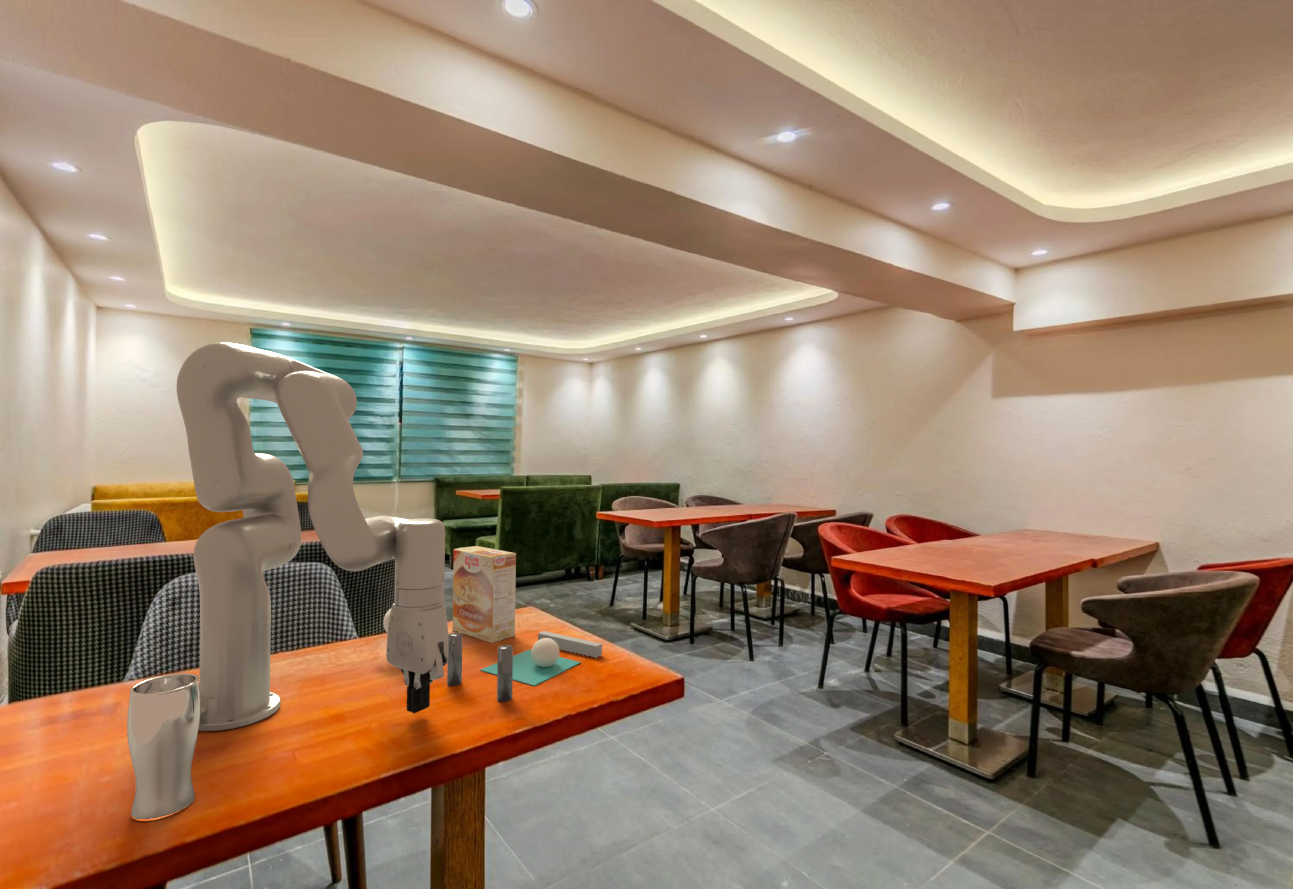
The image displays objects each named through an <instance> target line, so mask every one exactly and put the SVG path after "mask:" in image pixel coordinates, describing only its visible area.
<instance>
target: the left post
mask: <svg viewBox="0 0 1293 889" xmlns="http://www.w3.org/2000/svg"><path fill="white" fill-rule="evenodd" d="M448 638H449V653H448V662H447V664H446V666H447V667H446V668H447V671H446V672H447V674H446V685H447V686H450V687H455V686H459V685H461V684H462V683H463V634H462V633H459V632H450V633H448Z"/></svg>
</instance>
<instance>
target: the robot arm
mask: <svg viewBox="0 0 1293 889" xmlns="http://www.w3.org/2000/svg"><path fill="white" fill-rule="evenodd" d="M176 395H177V400H178V406H179V409H180V412H181V415H182V416H181V417H182V419H183V420H182V421H183V422H184V424H183V425H184V427H185V432H186V437H187V438H186V439H187V447H188V448H187V449H188V454H189V461H190V468H191V474H192V479H193V484H194V485H193V486H194V491H195V494H196V499H197V500H198V503H199V504H200V505H201V506H202V508H203V507H204V509H207V510H209V511H211V512H216V513H226V512H227V513H228V512H229V513H231V512H238V511H242V515H243V517H242V518H236V519H235V518H234V519H231V520H226V521H223V522H219V523H217V524H215V525H213V526H210V527H209V528H207V529H206V530H205V531H204V532H203V533H202V534H201V535H200V536H199V537H198V539H197V541H196V542H195V545H194V548H193V557H192V558H193V565H194V570H195V575H196V578H197V582H198V583H197V584H198V590H199V591H198V592H199V607H200V608H199V612H200V613H199V616H200V617H199V622H200V623H199V624H200V626H199V633H200V634H199V690H200V707H201V712H200V724H199V731H202V732H210V731H211V732H215V731H216V732H217V731H226V730H232V729H237V728H241V727H245V726H248V725H252V724H255V723H257V722H260V721H262V720H265V719H266V718H268V717H271V716H272V715H273V714H275V713H276V712H277V711H278V710H279V708H280V707H281V704H282V703H281V701H282V700H281V697H280V695H279V694H277V693H274V692H271V645H272V644H271V638H272V637H271V635H272V634H271V633H272V631H271V630H272V613H271V612H272V610H271V609H272V604H271V603H272V602H271V593H270V590H269V587H268V584H267V582H266V580H265V577H264V572H265V571H269V570H272V569H275V568H278V567H281V566H283V565H286V564H287V563H289V562H290V561H292V560H293V559H294V558H295V557H296V555H298V552H299V550H300V547H301V544H302V529H301V527H302V525H301V520H300V514H299V508H298V503H297V495H296V489H295V488H296V487H295V483H294V480H293V479H294V478H293V476H292V473H291V471H290V470H289V467H288V466H287V464H285V463H284V462H283V461H282V460H281V459H280V458H278V457H276V456H275V455H272V454H268V453H258V452H256V453H255V451H254V447H253V446H254V445H253V442H252V435H251V434H252V433H251V428H250V425H249V422H248V420H247V417H246V416H245V414H244V412H243V411H242V409H241V407H240V405H239V404H238V399H240V398H245V399H252V400H254V399H255V400H261V401H269V402H272V403H274V404H277V407H278V409H279V411H280V413H281V415H282V417H283V420H284V422H285V424H286V426H287V428H288V430H289V432H290V435H291V437H292V439H293V441H294V443H295V446H296V448H297V449H298V451H299V454H300V456H301V458H302V460H303V463H304V464H305V466H306V469H307V472H308V480H307V481H308V482H307V503H308V504H307V505H308V506H307V507H308V512H309V516H310V518H309V519H310V522H311V524H312V527H313V529H314V531H315V533H316V534H317V538H318V539H319V541H320V543H321V545H322V547H323V549H324V551H325V553H326V554H327V556H328V557H329V559H330V560H331V561H332V562H333V563H334V565H336V566H337V567H339V568H341V569H342V570H345V571H349V572H359V571H360V572H361V571H364V570H366V569H369V568H371V567H374V566H376V565H378V564H383V563H385V562H388V561H391V560H395V561H394V603H392V605H391V608H390V609H391V613H390V618H389V625H388V634H387V636H386V661H387V662H388V663H389V664H390V665H392V666H393V667H395V668H396V669H399V670H400V671H401V673H402V674H403V681H404V685H405V686H406V711H407V712H409V713H412V714H417V713H419V712H422V711H424V710H425V709H428V708H429V707H430V705H431V704H430V702H431V696H430V694H431V692H430V691H431V684H432V683H433V681H435V680H439V679H442V678H444V676H445V671H444V667H446V666H447V662H448V653H449V638H448V634H449V624H448V618H447V617H448V616H447V610H446V605H445V604H444V603H445V560H446V559H445V558H446V557H445V556H446V554H445V553H446V550H445V549H446V527H445V524H444V523H443V522H442V521H441V520H439V519H436V518H421V517H420V518H411V519H409V518H402V517H395V516H389V515H377V516H373V517H372V516H371V517H368V518H365V516H364V514H363V512H362V510H361V507H360V506H359V503H358V500H357V499H356V497H357V496H356V494H355V490H354V477H355V473H356V471H357V468H358V466H359V465H360V462H361V461H362V459H363V456H364V450H363V448H362V446H361V443H360V442H359V439H358V437H357V435H356V433H355V430H354V429H353V427H352V424H351V423H350V421H349V420H350V419H351V418H352V416H353V415H354V414H355V412H356V409H357V405H358V404H357V401H358V400H357V396H356V393H355V391H354V389H353V388H352V386H351V385H350V383H348V382H347V381H346V380H344V378H341V377H339V376H337V375H334V374H331V373H328V372H325V371H323V370H321V369H318V368H315V367H313V366H311V365H309V364H306V363H304V362H301V361H299V360H296V359H294V358H292V357H289V356H286V355H283V354H281V353H276V352H273V351H270V350H265V349H261V348H257V347H253V346H249V345H245V344H239V343H233V342H214V343H209V344H206V345H203V346H201V347H199V348H197V349H196V350H194V351H193V352H192V353H191V354H190V355H189V356H188V357H187V358H186V359H185V360H184V362H183V364H182V366H181V367H180V370H179V371H178V375H177V379H176ZM199 731H198V732H199Z"/></svg>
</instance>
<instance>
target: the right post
mask: <svg viewBox="0 0 1293 889" xmlns="http://www.w3.org/2000/svg"><path fill="white" fill-rule="evenodd" d="M513 656H514V647H513V645H511V644H502V645H499V646H497V662H496V663H497V675H496V677H497V679H496V687H497V688H496V701H498V702H501V703H506V702H510V701H512V700H513V681H514V680H513Z"/></svg>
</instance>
